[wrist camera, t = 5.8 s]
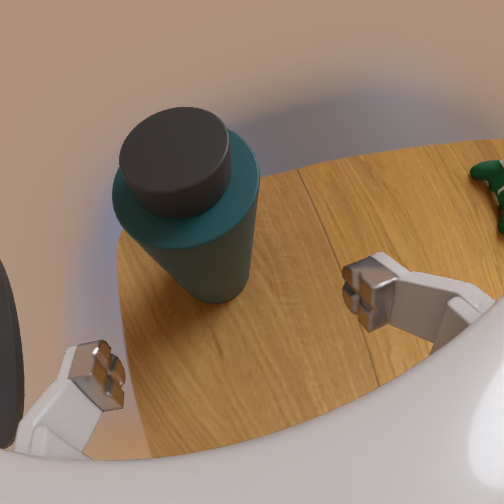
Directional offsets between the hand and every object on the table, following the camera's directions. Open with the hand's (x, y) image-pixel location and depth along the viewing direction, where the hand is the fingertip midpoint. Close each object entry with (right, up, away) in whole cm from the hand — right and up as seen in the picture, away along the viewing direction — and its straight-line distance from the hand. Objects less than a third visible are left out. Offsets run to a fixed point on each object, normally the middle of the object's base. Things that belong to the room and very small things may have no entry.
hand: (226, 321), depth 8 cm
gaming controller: (+32, +9, +16) cm, 37 cm away
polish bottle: (-2, +1, +11) cm, 12 cm away
